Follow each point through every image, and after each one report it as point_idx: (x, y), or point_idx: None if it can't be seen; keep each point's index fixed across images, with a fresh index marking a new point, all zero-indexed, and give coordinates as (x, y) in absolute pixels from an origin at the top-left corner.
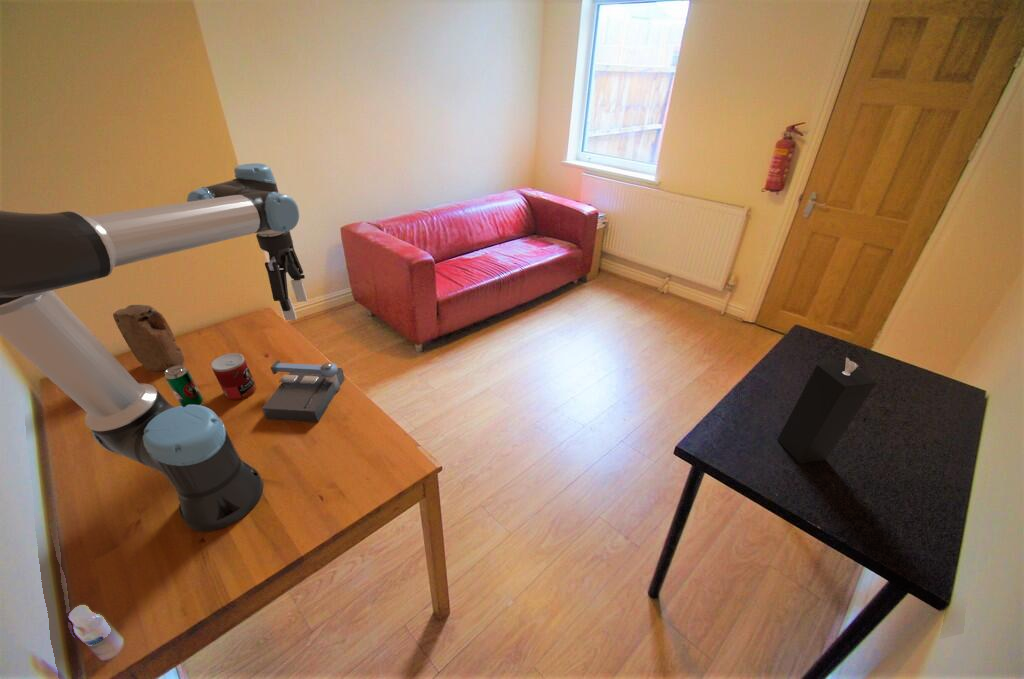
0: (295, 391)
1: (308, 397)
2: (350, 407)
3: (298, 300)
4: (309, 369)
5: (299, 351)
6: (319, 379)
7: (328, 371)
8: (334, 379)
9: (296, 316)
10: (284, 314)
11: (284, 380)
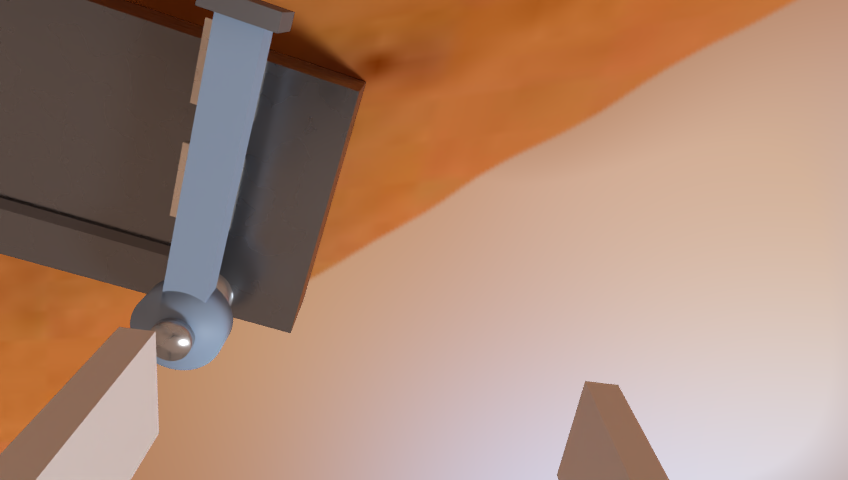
0: (111, 127)
1: (59, 200)
2: (99, 331)
3: (586, 409)
4: (174, 233)
5: (616, 48)
6: None
7: None
8: None
9: (145, 452)
10: (73, 386)
11: None
